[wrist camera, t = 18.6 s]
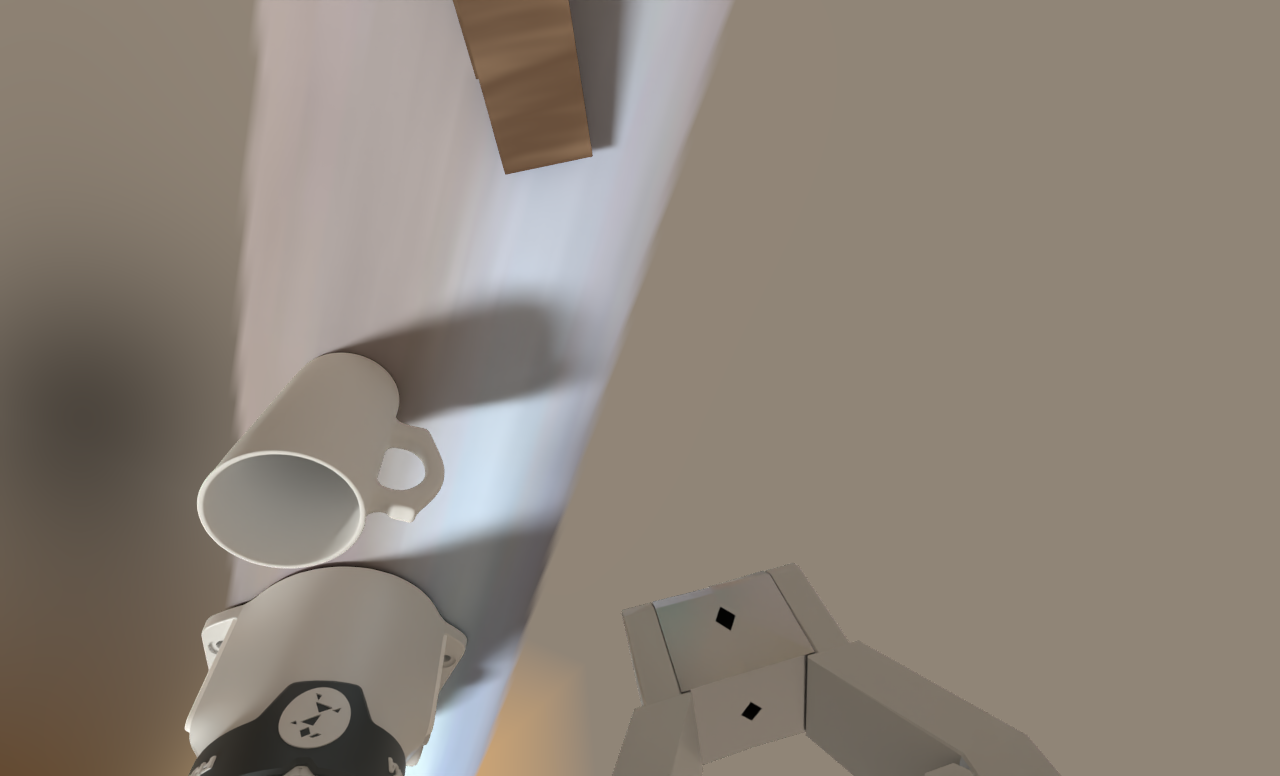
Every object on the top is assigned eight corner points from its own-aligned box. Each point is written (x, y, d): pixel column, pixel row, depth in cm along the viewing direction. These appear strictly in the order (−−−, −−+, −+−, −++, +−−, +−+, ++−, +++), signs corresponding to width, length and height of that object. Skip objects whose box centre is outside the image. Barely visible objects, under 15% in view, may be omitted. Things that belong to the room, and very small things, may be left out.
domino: (592, 156, 31) (557, -71, 24) (505, 174, 31) (442, -53, 23) (586, 145, 32) (551, -75, 25) (502, 162, 32) (441, -58, 24)
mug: (280, 427, 36) (189, 557, 25) (298, 334, 34) (205, 435, 23) (440, 459, 39) (418, 586, 29) (466, 377, 37) (451, 482, 27)
